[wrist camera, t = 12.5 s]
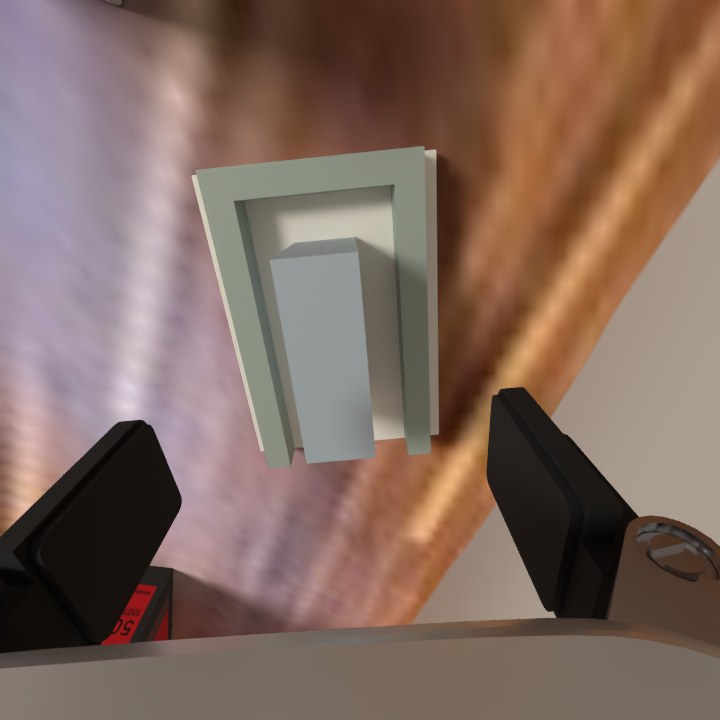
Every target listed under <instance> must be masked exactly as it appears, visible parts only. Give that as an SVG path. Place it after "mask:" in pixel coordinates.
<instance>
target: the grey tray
mask: <svg viewBox="0 0 720 720" xmlns="http://www.w3.org/2000/svg"><path fill="white" fill-rule="evenodd" d="M195 171H196V175H192V179H193V183H194V187H195V191H196V195H197V199H198V203H199V207H200V211H201V215H202V219H203V223H204V227H205V231H206V235H207V239H208V243H209V247H210V251H211V255H212V259H213V263H214V267H215V271H216V275H217V279H218V283H219V287H220V291H221V295H222V299H223V303H224V307H225V311H226V315H227V319H228V323H229V327H230V331H231V335H232V339H233V343H234V347H235V351H236V355H237V359H238V363H239V367H240V371H241V375H242V379H243V383H244V387H245V391H246V395H247V399H248V403H249V407H250V411H251V415H252V419H253V423H254V427H255V431H256V435H257V439H258V443H259V447H260V451H264V452H265V456H266V460H267V464H268V468H278V467H289V466H291V462H292V458H293V454H294V449H295V448H300V447H303V441H302V436H301V430H300V425H299V419H298V414H297V408H296V403H295V397H294V392H293V386H292V381H291V375H290V370H289V364H288V358H287V353H286V347H285V342H284V336H283V331H282V325H281V320H280V314H279V309H278V303H277V298H276V292H275V287H274V281H273V276H272V270H271V265H270V259H272V258H273V257H275V256H276V255H278V254H279V253H281V252H282V251H283V250H285V249H286V248H288V247H289V246H291V245H292V244H293V243H296V242H307V241H318V240H328V239H339V238H350V237H356V242H357V247H358V254H359V265H360V277H361V289H362V301H363V313H364V324H365V336H366V348H367V360H368V371H369V383H370V395H371V407H372V419H373V430H374V440H385V439H396V438H405V442H406V446H407V451H408V455H417V454H428V453H431V439H430V435H438V434H439V392H438V287H437V182H436V150H427V151H425V150H424V146H419V147H409V148H400V149H390V150H381V151H371V152H362V153H352V154H343V155H333V156H324V157H314V158H305V159H295V160H286V161H276V162H267V163H258V164H248V165H239V166H229V167H220V168H210V169H201V170H195Z"/></svg>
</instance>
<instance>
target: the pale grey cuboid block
mask: <svg viewBox="0 0 720 720" xmlns="http://www.w3.org/2000/svg"><path fill="white" fill-rule="evenodd" d="M270 265H271V270H272V276H273V281H274V287H275V292H276V298H277V303H278V309H279V314H280V320H281V325H282V331H283V336H284V342H285V347H286V353H287V358H288V364H289V370H290V375H291V381H292V386H293V392H294V397H295V403H296V408H297V414H298V419H299V425H300V430H301V436H302V441H303V447H304V452H305V458H306V464H307V463H318V462H330V461H341V460H353V459H364V458H376V454H375V442H374V430H373V419H372V407H371V395H370V383H369V371H368V360H367V348H366V336H365V324H364V313H363V301H362V289H361V277H360V265H359V254H358V247H357V242H356V237H350V238H339V239H328V240H318V241H307V242H296V243H293V244H292V245H291V246H289V247H288V248H286V249H285V250H283V251H282V252H281V253H279V254H278V255H276V256H275V257H273V258H272V259H270Z"/></svg>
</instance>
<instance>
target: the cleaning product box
mask: <svg viewBox="0 0 720 720" xmlns="http://www.w3.org/2000/svg"><path fill="white" fill-rule="evenodd" d="M172 590H173V568H165V567H156V566H149V567H148V569H147V570H146V572H145V574H144V576H143V578H142V579H141V581H140V583H139V585H138V587H137V589H136V590H135V592H134V594H133V596H132V598H131V599H130V601H129V603H128V605H127V607H126V609H125V610H124V612H123V614H122V616H121V618H120V619H119V621H118V623H117V625H116V627H115V629H114V630H113V632H112V634H111V635H110V636H109V637H108V638H107V639H106V640H105V641H103V642H102V643H101V645H110V644H123V643H137V642H151V641H165V640H171V627H172Z"/></svg>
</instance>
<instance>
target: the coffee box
mask: <svg viewBox="0 0 720 720" xmlns="http://www.w3.org/2000/svg"><path fill="white" fill-rule="evenodd" d="M105 1H107V2H109V3H112V4H114V5H120V4H121V3H122V0H105Z"/></svg>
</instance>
